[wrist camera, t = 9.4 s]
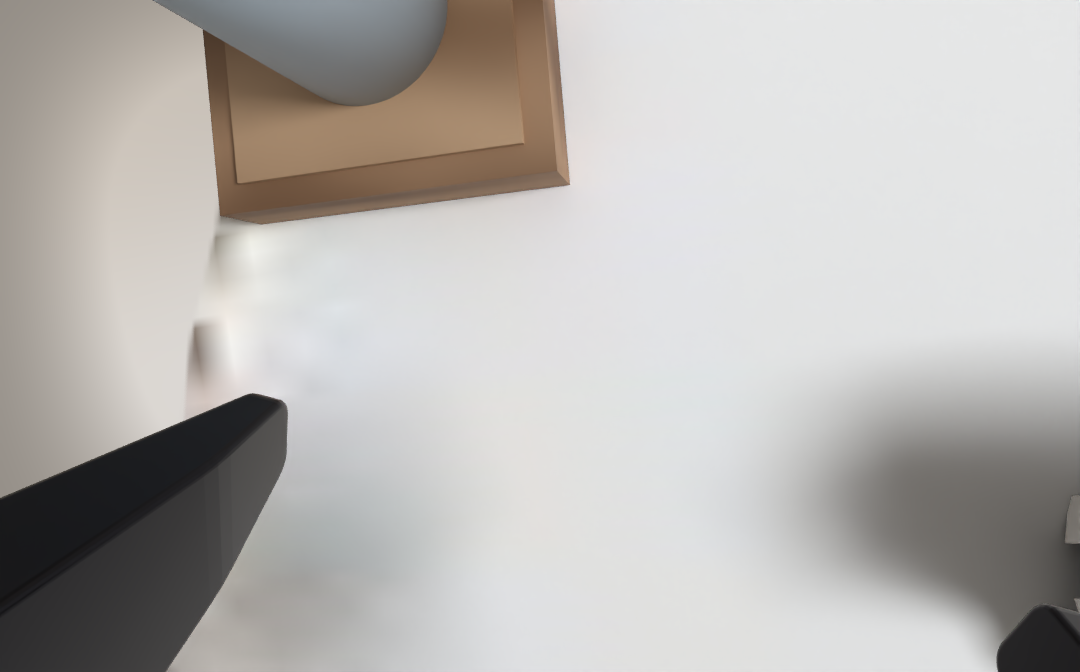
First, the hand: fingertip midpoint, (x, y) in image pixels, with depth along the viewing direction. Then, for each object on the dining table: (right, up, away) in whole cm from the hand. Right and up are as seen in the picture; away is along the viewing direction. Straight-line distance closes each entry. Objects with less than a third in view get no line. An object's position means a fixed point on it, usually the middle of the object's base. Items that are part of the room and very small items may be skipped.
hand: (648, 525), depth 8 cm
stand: (-6, +11, +13) cm, 18 cm away
